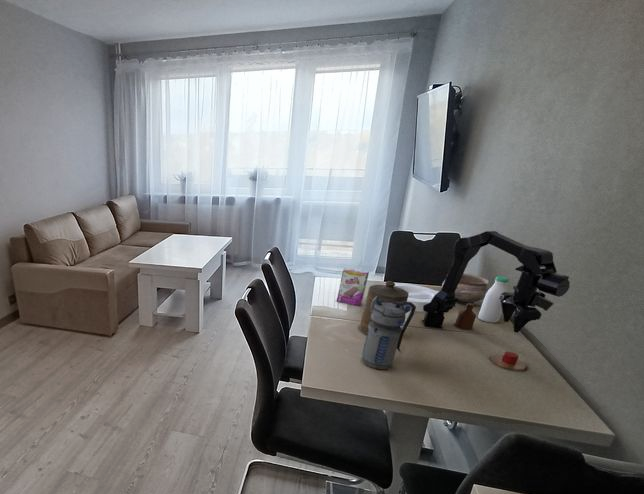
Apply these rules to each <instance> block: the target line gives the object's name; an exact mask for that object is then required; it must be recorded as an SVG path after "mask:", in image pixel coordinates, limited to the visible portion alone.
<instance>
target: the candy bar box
mask: <svg viewBox="0 0 644 494" xmlns="http://www.w3.org/2000/svg"><path fill="white" fill-rule="evenodd" d="M369 274H370V272H369V271H367V270H361V269H356V268H355V269H354V268H349V267H344V268H343V270H342V273H341V278H340V282H339V288H338V293H337V298H336V302H337V303H343V304H347V305H352V306H356V307H361V305H362V304H363V300H364V295H365V292H366V287H367V283H368V279H369Z"/></svg>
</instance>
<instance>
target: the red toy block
mask: <svg viewBox="0 0 644 494" xmlns="http://www.w3.org/2000/svg"><path fill="white" fill-rule="evenodd" d="M502 356H503V358H502V361H503V362H505V363H507V364H511V365H514V364H516V362H517V360H519V354H518V353H516V352H512V351H505V352H504V354H503V355H502Z"/></svg>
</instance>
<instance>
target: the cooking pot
mask: <svg viewBox="0 0 644 494" xmlns="http://www.w3.org/2000/svg"><path fill="white" fill-rule="evenodd" d="M447 275H448V273H447V274H446V276H447ZM445 280H446V278H445V279H444V281H442V284H441V288H442V287H443V284H444V282H445ZM489 283H490V281H489V280H488V279H486V278H484V277H483V276H482V277H481V276H479V275H474V274H469V273H465V272H464V273H463V275H462V278H461V280H460V282H459V284H458V286H457V288H456V291H455V297H456V298H458V301H457V302H456V304H461V305H466V304H467V303H471V304H473V303H475V302H479V301H482V300H484V298H485V295H486V293H487V292H488V284H489Z"/></svg>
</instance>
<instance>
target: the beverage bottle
mask: <svg viewBox="0 0 644 494" xmlns="http://www.w3.org/2000/svg"><path fill="white" fill-rule="evenodd" d="M391 302H392V303H389V300H379V296H376V297H375V298H374V299H373V300H372V304H371V312H372V314H371V319H372V321H371V322H370V323H369V327H368V332H367V334H366V337H365V341H364V346H363V350H362V354H361V360H362V362H363V363H364V364H365V365H366V366H368V367H370V368H373V369H378V370H387V369H390V368H391V367H392V366H393V363H394V360H395V356H396V352H397V351H398V352H399V353H400V354H401V353H402V352H401V349H400V348H401V344H402V340H403V338H404V334H405V332H406V331H407V328H408V327H409V324H410V322H411V321H412V319H413V317H414V315H415V312H416V311H415V309H416V306H415V305H414V304H413V303H411V302H406V301H403V302H394V301H391ZM400 305H403V307H401V306H400ZM411 307H412V308H411ZM410 310H411V311H410ZM408 313H409V314H408ZM406 314H408V316H407V318H406ZM401 326H402V327H401Z"/></svg>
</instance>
